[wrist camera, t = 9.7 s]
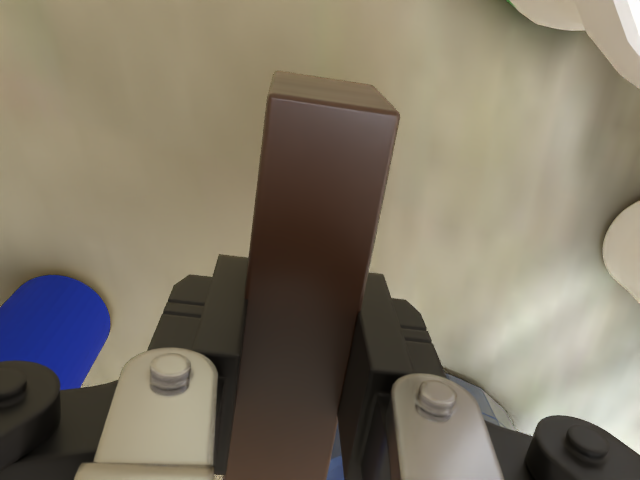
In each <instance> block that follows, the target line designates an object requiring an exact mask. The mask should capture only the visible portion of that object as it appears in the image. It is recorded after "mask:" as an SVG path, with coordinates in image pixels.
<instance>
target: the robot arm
mask: <svg viewBox="0 0 640 480" xmlns="http://www.w3.org/2000/svg"><path fill="white" fill-rule="evenodd" d="M248 259H249V258H245V257H237V256H229V255H221V254H219V256H218V260H217V263H216V267H215V270H214V274H213V277H207V276H198V275H188V276H187V277H185V278H184V279H182V280H181V281H180V282H178V283H177V284H175V285H174V287H173V289H172V291H171V294H170V296H169V299H168V302H167V304H166V306H165V308H164V311H163V314H162V316H161V318H160V321H159V323H158V325H157V328H156V330H155V333H154V335H153V338H152V340H151V342H150V345H149V347H148V350H147V351H146V352H143V353H141V354H138V355H137V356H135V357H133V358H132V359H130V360H129V361H128V362H127V363H126V364H125V366H124V367H123V369H122V371H121V374H120V377H119V380H116V381H113V382H110V383H107V384H103V385H98V386H92V387H84V388H75V389H66V390H60V381H59V378H58V376H57V375H56V374H55V372H54V371H53V370H51V369H50V368H48V367H46V366H44V365H41V364H38V363H34V362H29V361H16V360H14V361H2V362H0V480H214V474H218V475H226V471H227V464H228V456H229V449H230V442H231V435H232V428H233V420H234V413H235V406H236V398H237V389H238V381H239V373H240V364H241V356H242V348H243V340H244V331H245V323H246V315H247V306H248V300H247V299H245V298H244V294H245V285H246V276H247V268H248ZM426 329H427V328H426V326H425V323H424V321H423V318H422V316H421V314H420V313H419V312H418V311H417V310H416V309H415V308H414V307H413V306H412V305H411V304H410V303H409V302H407V301H406V300H403V299H394V298H391V296H390V293H389V290H388V287H387V284H386V281H385V278H384V275H383V274H377V273H368V277H367V282H366V287H365V292H364V297H363V302H362V307H361V311H360V312H358V317H357V322H356V327H355V332H354V337H353V341H352V346H351V351H350V356H349V361H348V366H347V371H346V376H345V381H344V386H343V391H342V396H341V400H340V405H339V410H338V415H337V417H338V426H339V436H340V445H341V454H342V464H343V473H344V480H640V455H639V454H638V453H636V452H635V451H633V450H632V449H631V448H629V447H628V446H626V445H625V444H624V443H622V442H621V441H620V440H618V439H617V438H615V437H614V436H613V435H611V434H610V433H608V432H607V431H605V430H603V429H602V428H600V427H598V426H596V425H594V424H592V423H590V422H587V421H584V420H581V419H578V418H574V417H569V416H560V415H557V416H549V417H546V418H544V419H542V420H541V421H540V422H539V423H538V425H537V427H536V430H535V432H534V435H533V436H529V435H526V434H523V433H520V432H517V431H514V430H510V429H507V428H504V427H501V426H498V425H495V424H493V423H490V422H488V421H486V420H484V418H483V415H482V412H481V409H480V406H479V404H478V402H477V401H476V399H475V398H474V397H473V396H472V395H471V394H470V393H469V392H468V391H467V390H466V389H465V388H463V387H462V386H460V385H458V384H457V383H455V382H453V381H451V380H448V379H447V377H446V375H445V372H444V370H443V367H442V365H441V363H440V360H439V358H438V355H437V353H436V350H435V348H434V345H433V344H431V341H432V340H431V338H430V336H429V333H428V331H426Z"/></svg>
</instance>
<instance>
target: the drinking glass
mask: <svg viewBox="0 0 640 480" xmlns="http://www.w3.org/2000/svg"><path fill="white" fill-rule="evenodd" d="M603 260H604V264H605V266H606V268H607V270H608V272H609V274H610V275H611V276H612V277H613V279H614V280H615V281H616V282H618V283H619V284H620V285H621V286H622V287H623V288H624V289H626V290H627V291H628V292H629V293H630V294H631V295H632V296H633V297H634V298H635V299H636V301H637V302H638V303H639V304H640V201H637V202H635V203H634V204H632V205H630V206H629V207H627V208H626V209H625V210H623V211H622V212H621V213H620V214H619V215H618V216H617V217H616V218H615V220H614V221H613V222H612V224H611V225H610V227H609V229H608V231H607V233H606V235H605V238H604V242H603Z"/></svg>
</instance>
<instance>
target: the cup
mask: <svg viewBox="0 0 640 480" xmlns="http://www.w3.org/2000/svg"><path fill="white" fill-rule="evenodd" d="M506 1H507V2H508V3H510V4H511V5H512V6H514V7H515V8H516V9H517V10H518V11H519V12H520V13H522V14H523V15H524V16H526V17H527V18H528V19H530V20H531V21H533V22H534V23H535V24H537V25H542V26H546V27H550V28H555V29H560V30H569V31H586V33H587V34H588V36H589V37H590V38H591V39H592V41H593V42H594V43H595V44H596V46H597V47H598V48H599V49H600V51H601V52H602V53H603V54H604V56H605V57H606V58H607V59H608V61H609V62H610V63H611V64H612V65H613V67H614V68H615V69H616V70H617V72H618V73H619V74H620V75H621V76H622V77H624V78H625V79H626V80H628V81H629V82H631V83H632V84H633V85H635V86H636V87H637V88H639V89H640V0H506Z"/></svg>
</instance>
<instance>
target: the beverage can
mask: <svg viewBox="0 0 640 480" xmlns="http://www.w3.org/2000/svg"><path fill="white" fill-rule="evenodd" d="M109 332H110V316H109V312H108V309H107V307H106V305H105V303H104V302H103V300H102V299H101V297H100V296H99V295H98V294H97V293H96V292H95V291H94V290H93V289H91V288H90V287H89V286H87V285H86V284H84V283H83V282H80V281H78V280H76V279H73V278H70V277H66V276H60V275H45V276H40V277H36V278H33V279H31V280H29V281H27V282H26V283H24V284H23V285H21V286H20V287H19V288H18V289H17V290H16V291H15V292H14V293H13V295H12V296H11V297H10V298H9V299H8V300H7V301H6V302H5V303H4V304H3V305H2V306H1V307H0V362H2V361H14V360H16V361H29V362H34V363H38V364H41V365H44V366H46V367H48V368H50V369H51V370H53V371H54V372H55V374H56V375H57V376H58V378H59V381H60V390H66V389H75V388H80V387H81V385H82V383H83V381H84V379H85V378H86V376H87V374H88V372H89V370H90V369H91V367H92V365H93V363H94V361H95V360H96V358H97V356H98V354H99V352H100V351H101V349H102V347H103V345H104V343H105V341H106V340H107V338H108V335H109Z"/></svg>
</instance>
